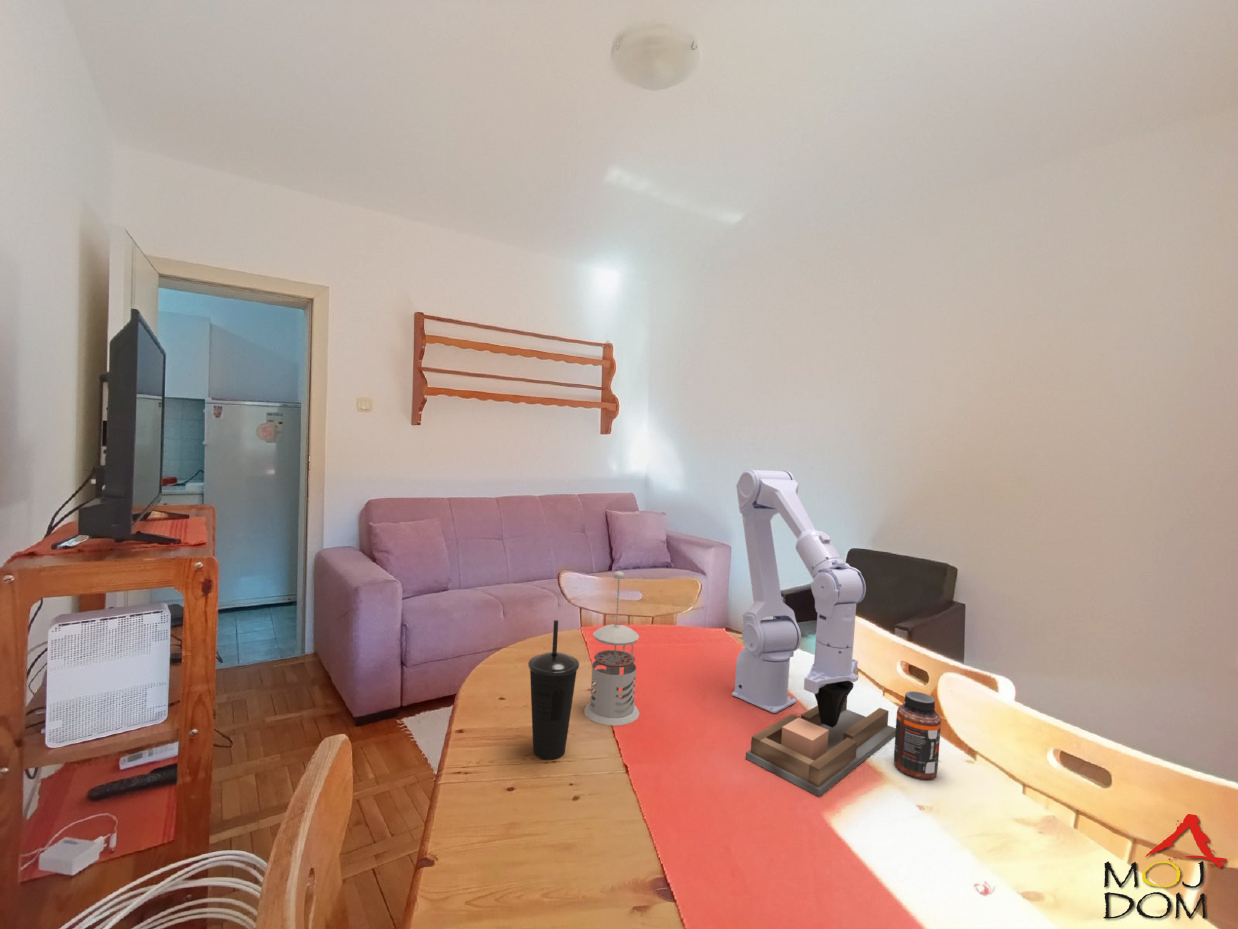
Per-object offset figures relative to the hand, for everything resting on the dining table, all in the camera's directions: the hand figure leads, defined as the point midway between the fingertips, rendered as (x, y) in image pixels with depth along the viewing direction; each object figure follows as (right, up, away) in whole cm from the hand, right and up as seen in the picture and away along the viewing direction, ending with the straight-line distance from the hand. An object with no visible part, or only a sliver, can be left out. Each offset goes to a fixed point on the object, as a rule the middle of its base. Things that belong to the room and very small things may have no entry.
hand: (828, 724), depth 91 cm
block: (-6, -2, -5) cm, 8 cm away
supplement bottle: (+11, -4, -6) cm, 13 cm away
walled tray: (-1, -3, 0) cm, 3 cm away
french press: (-35, -1, +8) cm, 36 cm away
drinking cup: (-45, -1, -6) cm, 45 cm away
